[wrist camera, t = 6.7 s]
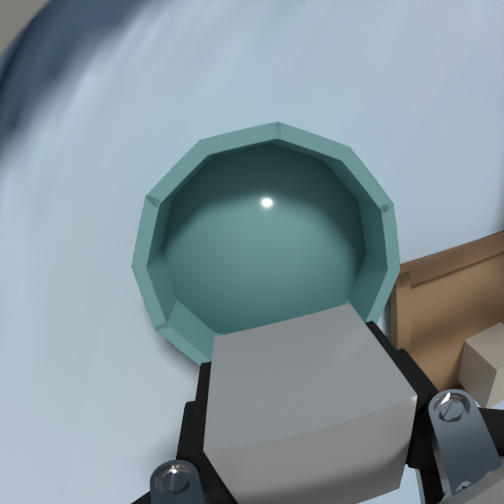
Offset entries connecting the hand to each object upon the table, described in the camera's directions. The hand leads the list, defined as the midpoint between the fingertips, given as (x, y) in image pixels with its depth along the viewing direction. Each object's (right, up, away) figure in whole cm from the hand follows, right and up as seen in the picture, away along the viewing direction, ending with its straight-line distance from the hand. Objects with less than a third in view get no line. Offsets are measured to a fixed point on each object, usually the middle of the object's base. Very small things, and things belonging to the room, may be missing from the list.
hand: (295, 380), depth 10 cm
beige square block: (+18, -4, +10) cm, 21 cm away
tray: (+17, -1, +10) cm, 20 cm away
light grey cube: (0, 0, 0) cm, 0 cm away
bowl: (-1, +4, +7) cm, 9 cm away
